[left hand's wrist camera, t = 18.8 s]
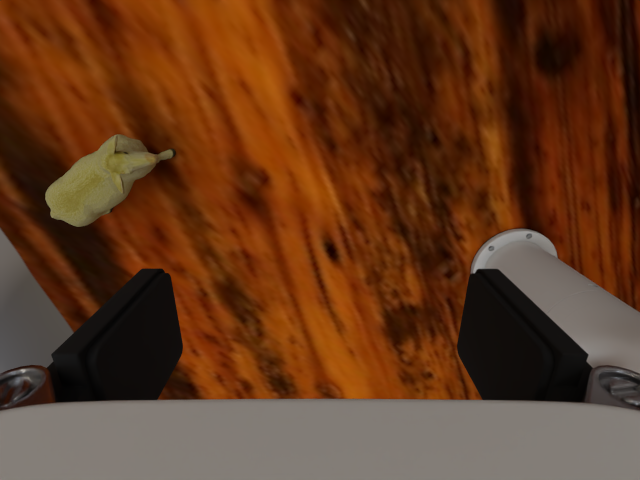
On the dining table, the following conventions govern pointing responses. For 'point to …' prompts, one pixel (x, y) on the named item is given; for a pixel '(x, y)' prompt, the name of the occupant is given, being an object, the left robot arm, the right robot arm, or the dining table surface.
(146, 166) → the toy
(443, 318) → the dining table surface
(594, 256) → the dining table surface
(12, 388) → the left robot arm
